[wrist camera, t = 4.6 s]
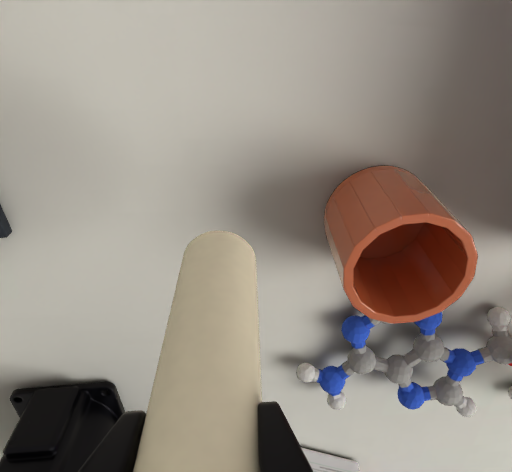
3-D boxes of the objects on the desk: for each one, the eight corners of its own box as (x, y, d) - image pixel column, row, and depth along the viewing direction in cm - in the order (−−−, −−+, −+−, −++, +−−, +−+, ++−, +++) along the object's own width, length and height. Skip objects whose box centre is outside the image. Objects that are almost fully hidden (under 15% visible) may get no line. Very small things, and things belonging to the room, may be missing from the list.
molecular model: (290, 439, 25) (304, 333, 19) (296, 356, 30) (308, 247, 23) (606, 481, 24) (738, 380, 17) (562, 387, 28) (654, 279, 22)
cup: (423, 254, 22) (466, 317, 18) (324, 263, 23) (343, 328, 18) (435, 160, 20) (487, 207, 15) (322, 171, 20) (344, 220, 16)
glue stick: (260, 288, 15) (282, 713, 6) (187, 294, 15) (107, 723, 6) (254, 225, 14) (271, 643, 5) (175, 230, 14) (52, 657, 5)
